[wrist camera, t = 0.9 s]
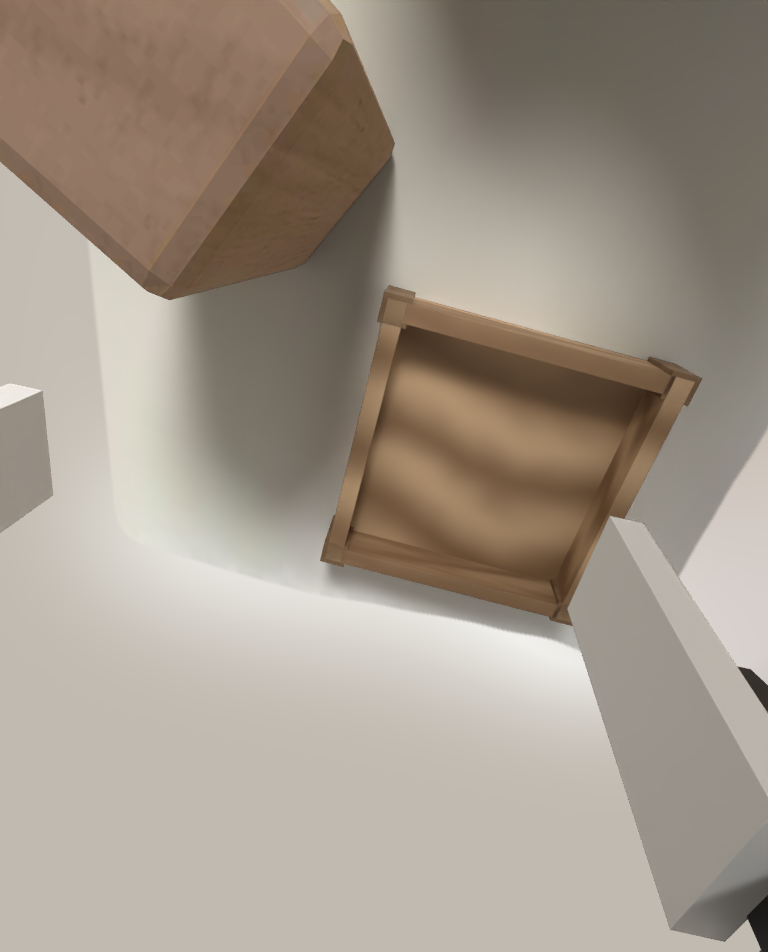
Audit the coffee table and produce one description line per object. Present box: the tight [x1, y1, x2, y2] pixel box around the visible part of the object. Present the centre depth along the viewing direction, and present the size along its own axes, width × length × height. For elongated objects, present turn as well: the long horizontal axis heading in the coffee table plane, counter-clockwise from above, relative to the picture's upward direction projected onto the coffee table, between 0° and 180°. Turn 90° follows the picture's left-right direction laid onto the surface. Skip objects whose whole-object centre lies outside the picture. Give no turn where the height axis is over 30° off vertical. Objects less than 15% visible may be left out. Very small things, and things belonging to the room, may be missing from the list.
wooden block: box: [0, 0, 395, 300], centre depth 23 cm, size 10×10×20 cm
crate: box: [320, 285, 702, 626], centre depth 38 cm, size 20×20×4 cm
